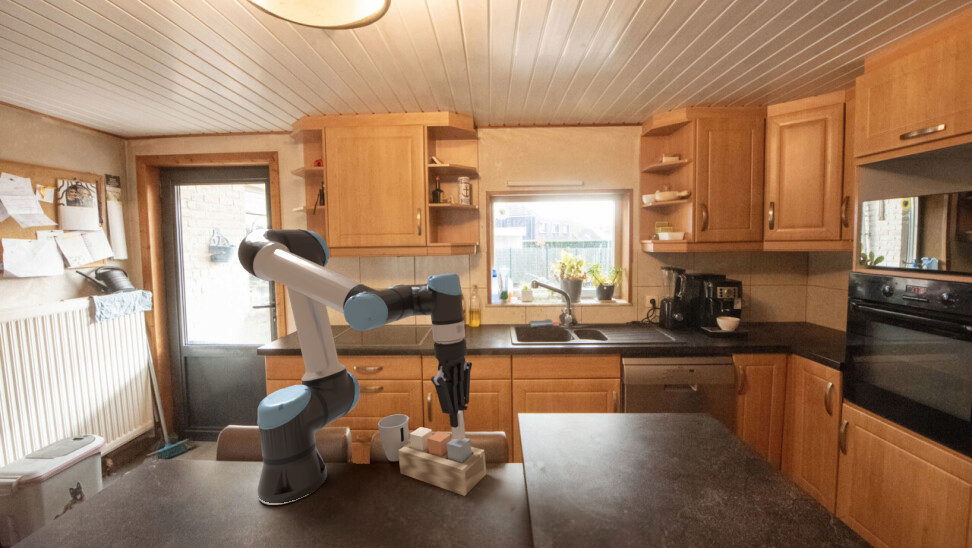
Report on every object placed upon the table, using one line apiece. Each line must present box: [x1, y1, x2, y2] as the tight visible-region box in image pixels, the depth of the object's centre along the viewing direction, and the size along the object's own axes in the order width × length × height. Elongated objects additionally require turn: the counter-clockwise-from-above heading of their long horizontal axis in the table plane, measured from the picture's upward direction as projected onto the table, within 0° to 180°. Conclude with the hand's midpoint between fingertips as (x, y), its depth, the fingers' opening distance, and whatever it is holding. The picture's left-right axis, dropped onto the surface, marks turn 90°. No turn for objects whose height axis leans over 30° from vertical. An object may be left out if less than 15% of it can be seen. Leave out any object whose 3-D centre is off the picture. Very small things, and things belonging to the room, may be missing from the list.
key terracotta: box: [428, 430, 452, 458], centre depth 92 cm, size 4×4×6 cm
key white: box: [409, 426, 434, 452], centre depth 95 cm, size 4×4×6 cm
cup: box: [377, 413, 410, 462], centre depth 102 cm, size 8×8×10 cm
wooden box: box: [398, 441, 487, 497], centre depth 92 cm, size 20×9×6 cm, turn 57°
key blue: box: [447, 437, 472, 463], centre depth 88 cm, size 4×4×6 cm
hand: (458, 437), depth 88 cm, fingers closed
